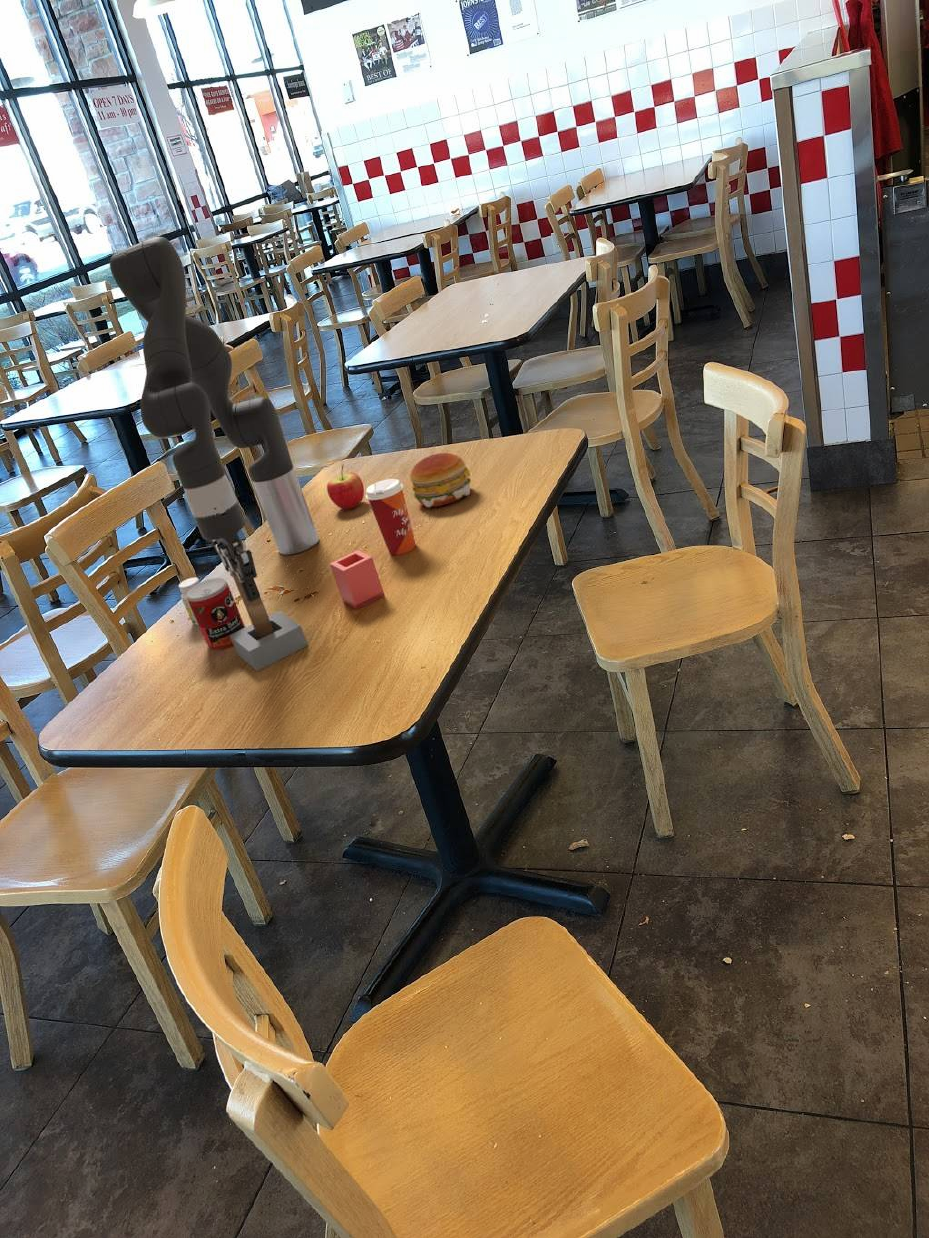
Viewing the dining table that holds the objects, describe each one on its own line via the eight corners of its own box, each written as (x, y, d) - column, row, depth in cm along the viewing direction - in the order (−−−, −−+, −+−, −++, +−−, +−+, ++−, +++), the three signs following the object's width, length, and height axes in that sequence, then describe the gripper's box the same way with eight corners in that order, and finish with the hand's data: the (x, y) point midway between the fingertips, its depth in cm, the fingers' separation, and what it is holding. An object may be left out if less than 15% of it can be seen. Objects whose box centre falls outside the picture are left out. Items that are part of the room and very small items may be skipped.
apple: (375, 498, 234) (362, 459, 229) (354, 514, 228) (340, 474, 223) (349, 499, 238) (336, 460, 234) (327, 514, 233) (313, 475, 228)
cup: (343, 601, 186) (329, 563, 183) (370, 587, 189) (357, 550, 185) (356, 609, 181) (343, 570, 178) (384, 595, 184) (371, 557, 180)
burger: (440, 485, 230) (428, 445, 226) (486, 486, 222) (475, 444, 217) (405, 510, 221) (392, 469, 217) (452, 512, 213) (440, 468, 209)
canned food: (213, 655, 180) (190, 602, 175) (203, 641, 187) (181, 590, 182) (252, 637, 183) (231, 585, 178) (241, 624, 189) (220, 573, 184)
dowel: (257, 641, 176) (227, 566, 169) (272, 633, 177) (243, 559, 170) (263, 646, 173) (233, 570, 166) (279, 638, 174) (249, 563, 168)
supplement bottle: (220, 612, 197) (204, 575, 193) (208, 624, 193) (191, 587, 190) (200, 614, 199) (185, 577, 195) (188, 626, 195) (171, 589, 191)
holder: (237, 654, 178) (229, 635, 176) (286, 629, 182) (279, 610, 180) (257, 671, 170) (248, 651, 168) (308, 645, 174) (300, 625, 172)
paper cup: (415, 554, 197) (395, 489, 191) (380, 560, 199) (359, 496, 193) (424, 537, 204) (405, 474, 198) (390, 543, 206) (370, 481, 200)
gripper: (180, 507, 168) (218, 596, 175) (206, 522, 156) (245, 617, 164) (221, 490, 170) (256, 578, 178) (249, 503, 159) (285, 597, 167)
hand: (250, 596), depth 171 cm, fingers closed on dowel, 3 cm apart
